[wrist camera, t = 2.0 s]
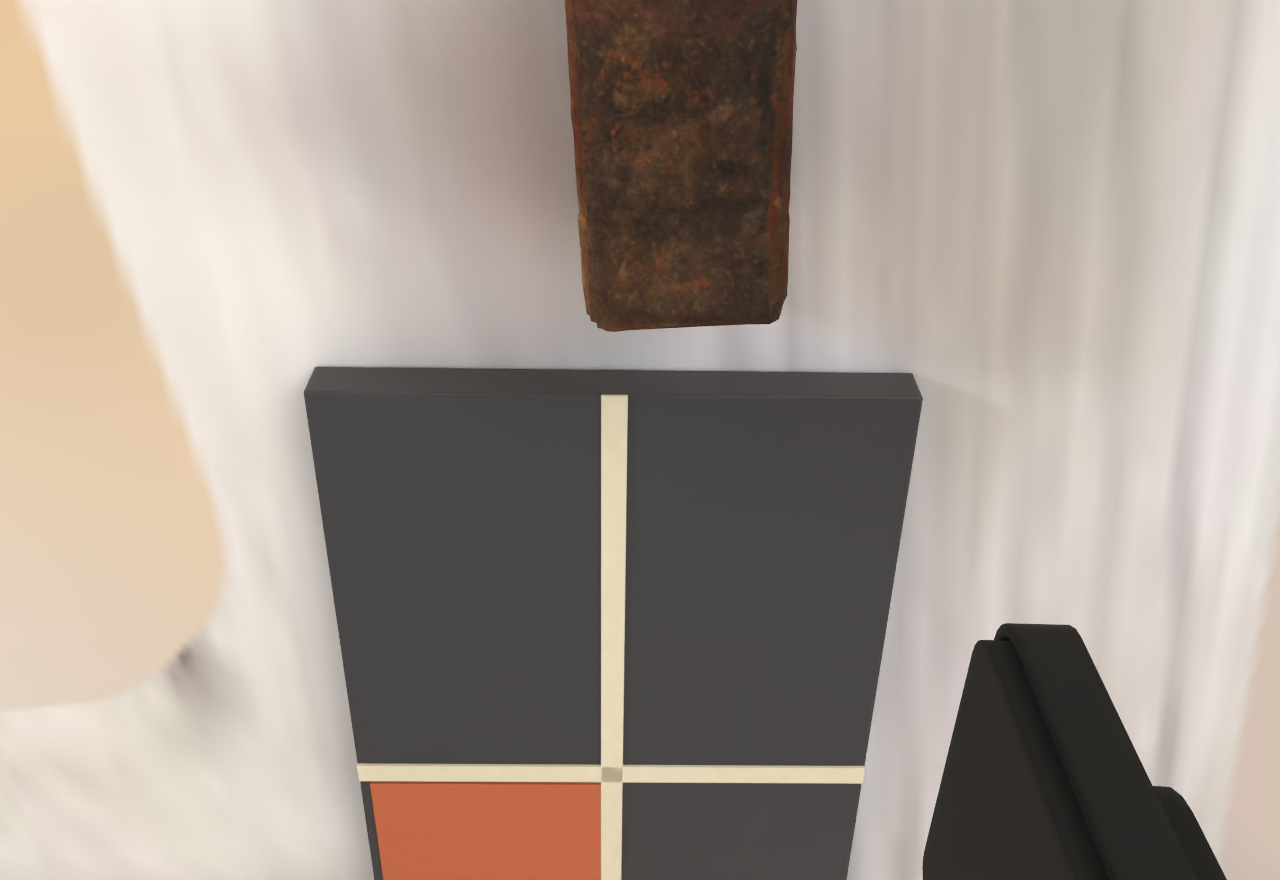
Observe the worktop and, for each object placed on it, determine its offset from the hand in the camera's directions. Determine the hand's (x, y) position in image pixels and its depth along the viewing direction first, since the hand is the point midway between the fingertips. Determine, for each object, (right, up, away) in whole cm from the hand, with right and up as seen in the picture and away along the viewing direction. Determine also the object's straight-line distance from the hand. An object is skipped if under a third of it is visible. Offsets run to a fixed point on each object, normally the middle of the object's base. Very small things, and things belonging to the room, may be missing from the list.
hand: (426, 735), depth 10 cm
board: (+1, -6, +24) cm, 25 cm away
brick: (+3, +12, +14) cm, 18 cm away
